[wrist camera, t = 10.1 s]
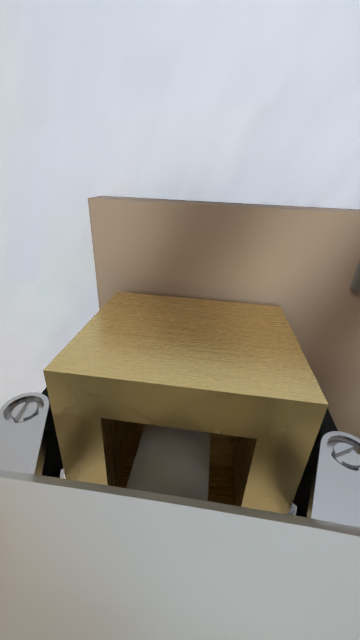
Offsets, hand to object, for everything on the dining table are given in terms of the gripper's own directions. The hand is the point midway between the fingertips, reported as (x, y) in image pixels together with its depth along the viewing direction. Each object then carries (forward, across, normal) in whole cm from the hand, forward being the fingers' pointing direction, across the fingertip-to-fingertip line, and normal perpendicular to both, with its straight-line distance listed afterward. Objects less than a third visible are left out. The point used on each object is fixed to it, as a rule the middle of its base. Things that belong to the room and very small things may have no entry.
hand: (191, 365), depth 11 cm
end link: (0, 0, 0) cm, 0 cm away
